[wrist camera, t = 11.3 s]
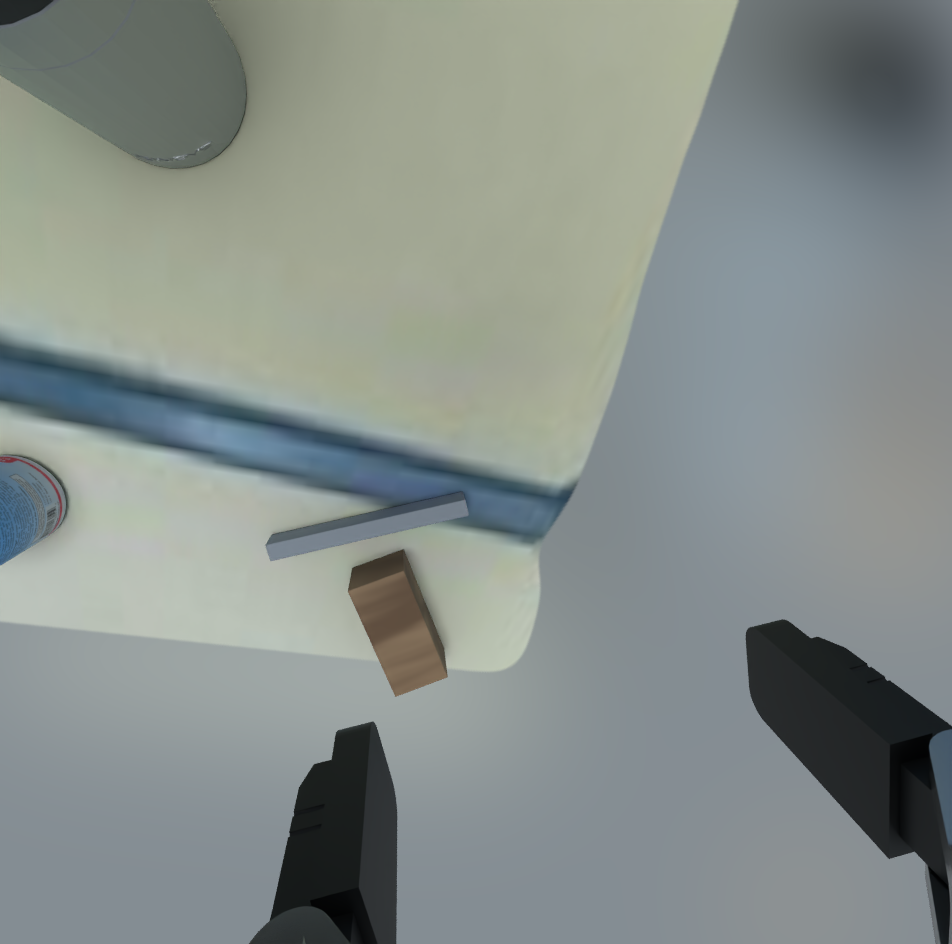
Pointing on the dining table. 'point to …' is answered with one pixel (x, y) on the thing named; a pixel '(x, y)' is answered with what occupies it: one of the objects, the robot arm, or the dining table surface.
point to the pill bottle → (27, 505)
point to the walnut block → (398, 622)
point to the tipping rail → (366, 526)
